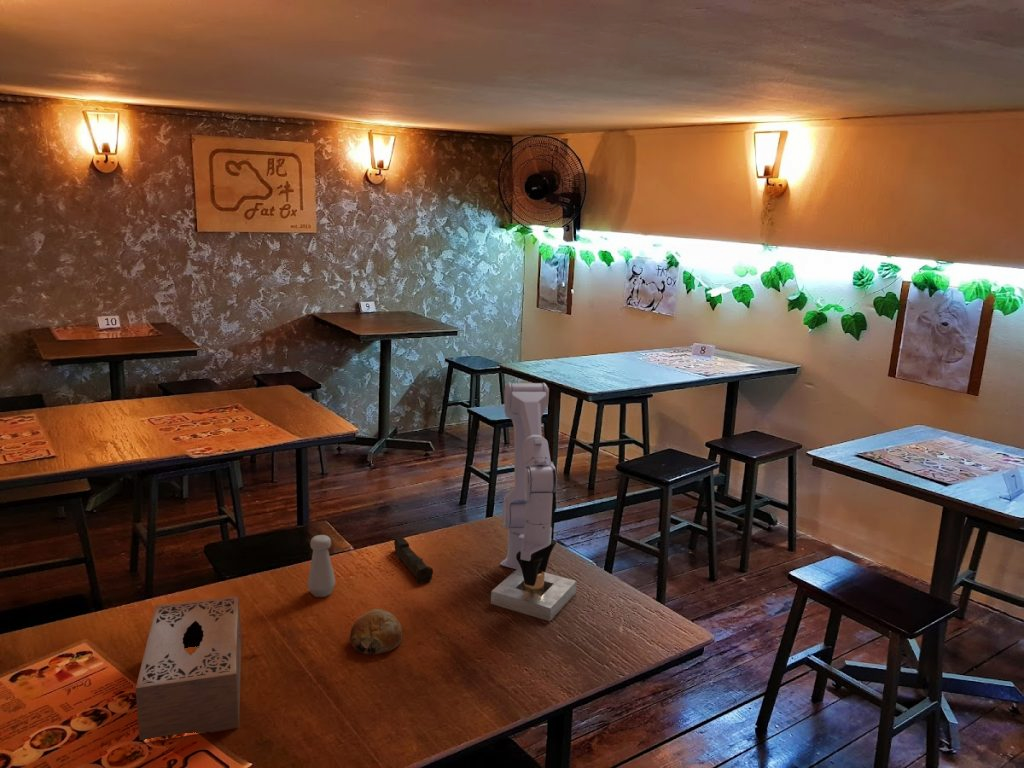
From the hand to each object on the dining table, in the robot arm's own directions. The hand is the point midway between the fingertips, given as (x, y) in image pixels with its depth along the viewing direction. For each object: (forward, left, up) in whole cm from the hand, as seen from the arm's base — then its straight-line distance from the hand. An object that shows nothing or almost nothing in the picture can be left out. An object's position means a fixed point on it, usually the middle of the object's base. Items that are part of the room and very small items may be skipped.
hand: (535, 577), depth 165 cm
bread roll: (+32, -19, -5) cm, 37 cm away
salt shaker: (+22, -41, -5) cm, 47 cm away
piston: (0, 0, -5) cm, 5 cm away
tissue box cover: (+59, -37, -5) cm, 70 cm away
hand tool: (+2, -32, -5) cm, 33 cm away
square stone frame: (0, 0, -5) cm, 5 cm away
